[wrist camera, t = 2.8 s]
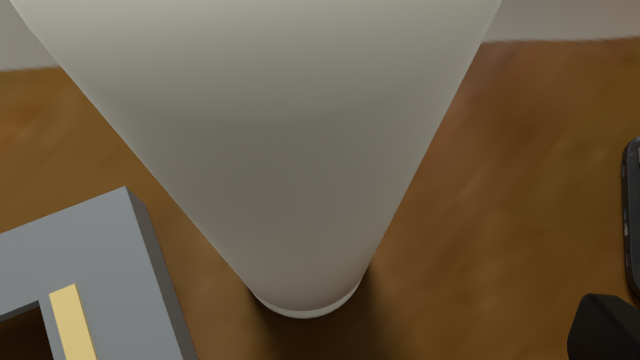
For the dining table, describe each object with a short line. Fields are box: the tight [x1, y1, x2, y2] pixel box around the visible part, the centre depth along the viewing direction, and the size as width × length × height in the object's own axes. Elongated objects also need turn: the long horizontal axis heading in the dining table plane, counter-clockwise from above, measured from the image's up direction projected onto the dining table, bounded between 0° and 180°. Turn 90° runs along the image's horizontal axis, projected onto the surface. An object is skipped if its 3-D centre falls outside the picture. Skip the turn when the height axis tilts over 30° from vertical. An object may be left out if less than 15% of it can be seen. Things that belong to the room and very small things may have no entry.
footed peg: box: [10, 0, 503, 319], centre depth 12 cm, size 4×4×16 cm
